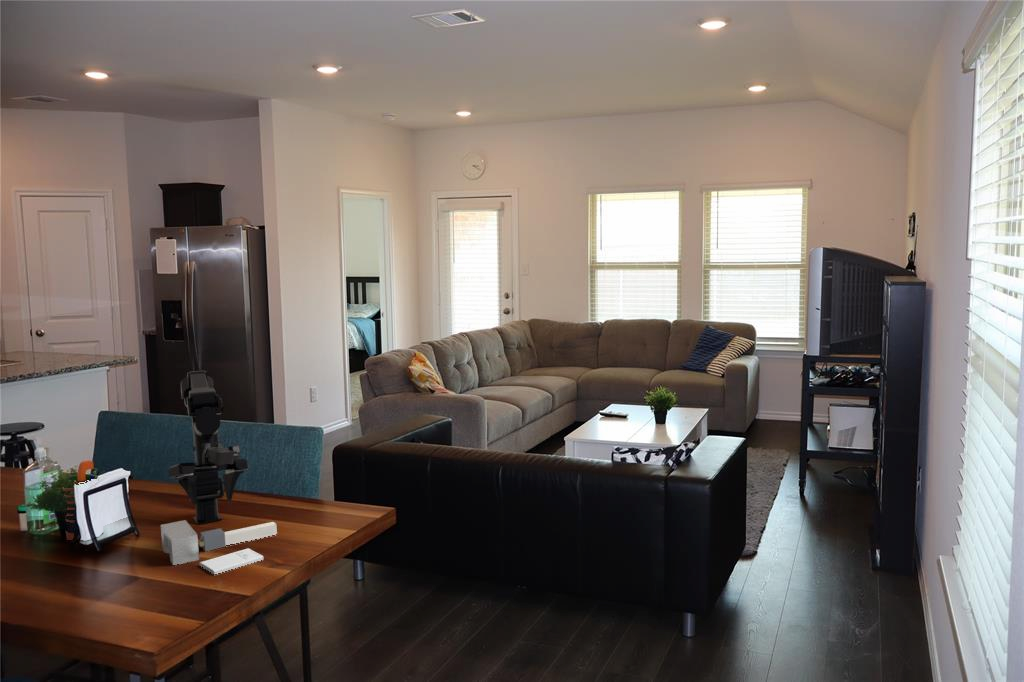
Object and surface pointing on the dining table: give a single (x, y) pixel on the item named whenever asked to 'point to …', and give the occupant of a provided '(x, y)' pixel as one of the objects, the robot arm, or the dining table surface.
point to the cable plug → (235, 535)
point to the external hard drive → (231, 561)
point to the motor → (79, 478)
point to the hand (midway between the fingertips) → (212, 502)
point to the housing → (180, 542)
